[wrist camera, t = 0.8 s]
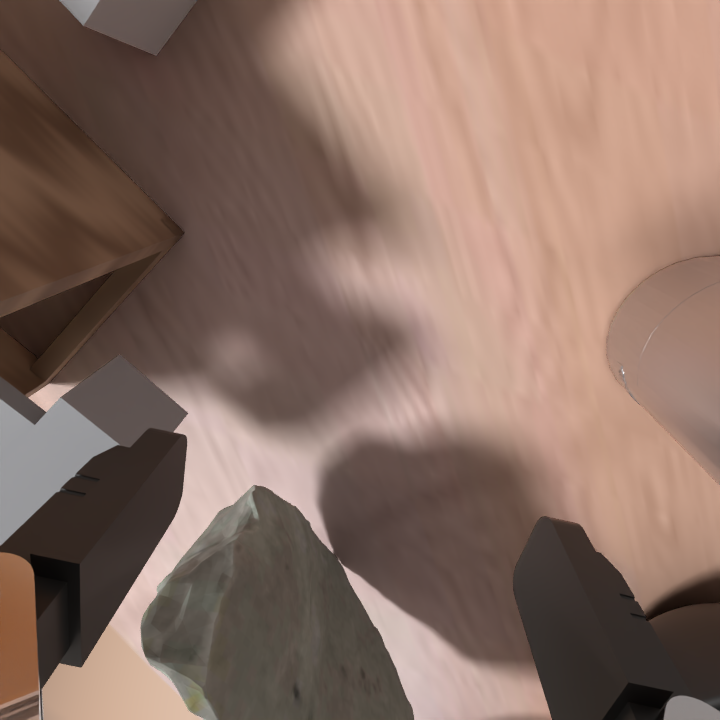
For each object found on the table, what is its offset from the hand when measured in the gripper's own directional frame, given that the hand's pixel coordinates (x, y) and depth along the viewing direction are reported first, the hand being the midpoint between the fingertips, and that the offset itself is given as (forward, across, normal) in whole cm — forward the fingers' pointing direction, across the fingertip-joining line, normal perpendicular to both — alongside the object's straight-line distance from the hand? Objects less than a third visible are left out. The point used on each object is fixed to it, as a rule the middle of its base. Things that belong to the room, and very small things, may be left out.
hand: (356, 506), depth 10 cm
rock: (+20, -2, +21) cm, 29 cm away
